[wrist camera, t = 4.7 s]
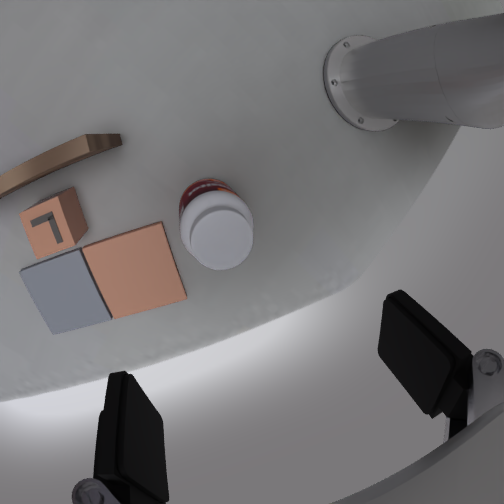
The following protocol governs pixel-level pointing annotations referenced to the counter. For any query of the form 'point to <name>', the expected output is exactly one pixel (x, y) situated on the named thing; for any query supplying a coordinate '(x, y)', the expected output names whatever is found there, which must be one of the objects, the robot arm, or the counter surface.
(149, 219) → the counter surface
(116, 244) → the terracotta pad
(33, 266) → the slate pad
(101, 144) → the walnut wall
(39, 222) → the terracotta cube
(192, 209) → the pill bottle
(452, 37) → the robot arm
